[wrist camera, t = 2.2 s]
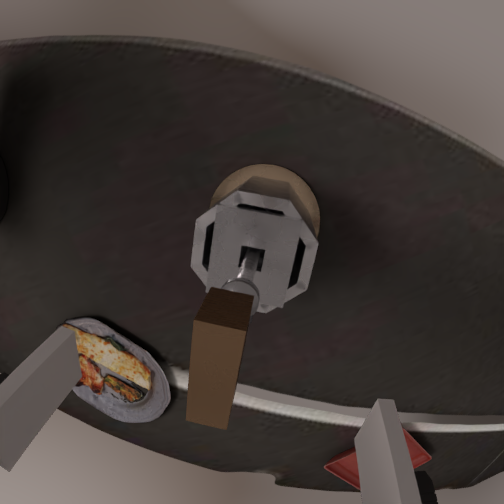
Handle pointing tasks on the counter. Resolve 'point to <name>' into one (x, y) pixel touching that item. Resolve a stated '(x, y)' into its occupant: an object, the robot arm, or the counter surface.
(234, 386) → the plunger
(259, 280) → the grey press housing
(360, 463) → the robot arm
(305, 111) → the counter surface
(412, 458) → the plant saucer
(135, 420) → the food plate
